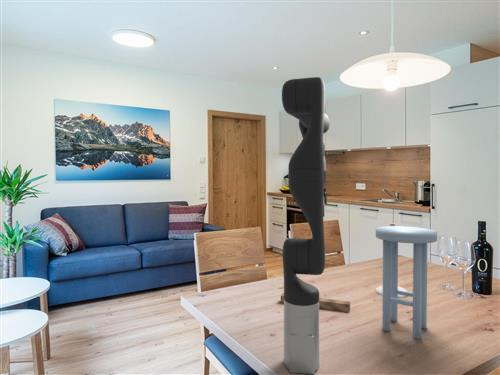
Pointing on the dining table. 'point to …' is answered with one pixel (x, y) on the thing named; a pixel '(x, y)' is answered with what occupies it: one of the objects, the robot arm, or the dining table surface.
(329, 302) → the thin wooden plank
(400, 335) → the dining table surface
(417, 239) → the stool
